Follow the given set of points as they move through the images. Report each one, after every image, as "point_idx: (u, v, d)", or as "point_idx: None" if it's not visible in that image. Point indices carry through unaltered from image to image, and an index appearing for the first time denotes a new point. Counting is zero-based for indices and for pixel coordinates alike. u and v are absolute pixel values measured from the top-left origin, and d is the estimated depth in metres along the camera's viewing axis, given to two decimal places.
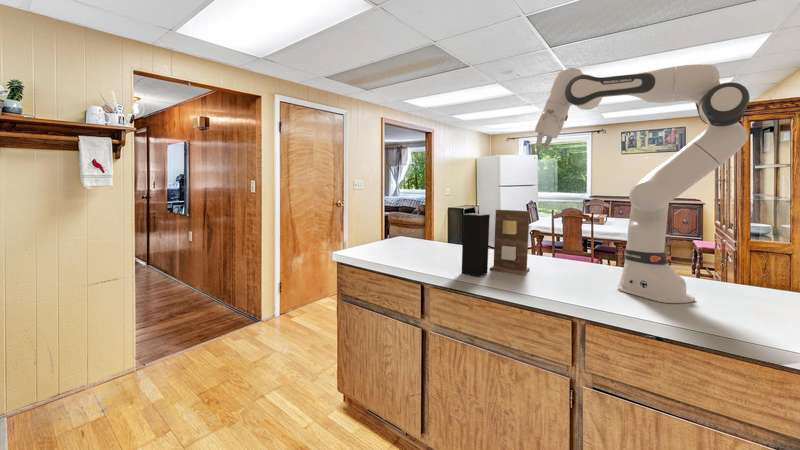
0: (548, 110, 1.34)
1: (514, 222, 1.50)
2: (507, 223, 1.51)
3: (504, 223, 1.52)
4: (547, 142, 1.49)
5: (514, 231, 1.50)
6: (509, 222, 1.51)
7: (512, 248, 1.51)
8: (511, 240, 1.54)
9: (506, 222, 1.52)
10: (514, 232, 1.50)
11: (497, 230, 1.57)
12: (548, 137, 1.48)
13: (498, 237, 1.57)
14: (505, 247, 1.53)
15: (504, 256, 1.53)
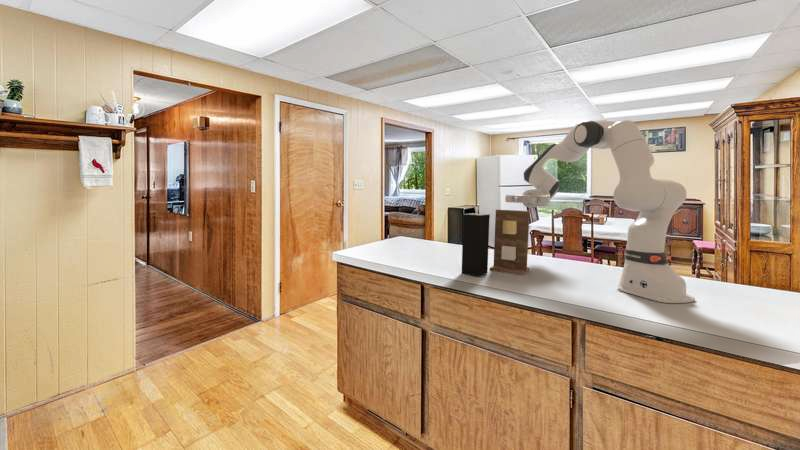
0: None
1: (514, 222, 1.50)
2: (507, 223, 1.51)
3: (504, 223, 1.52)
4: None
5: (514, 231, 1.50)
6: (509, 222, 1.51)
7: (512, 248, 1.51)
8: (511, 240, 1.54)
9: (506, 222, 1.52)
10: (514, 232, 1.50)
11: (497, 230, 1.57)
12: None
13: (498, 237, 1.57)
14: (505, 247, 1.53)
15: (504, 256, 1.53)
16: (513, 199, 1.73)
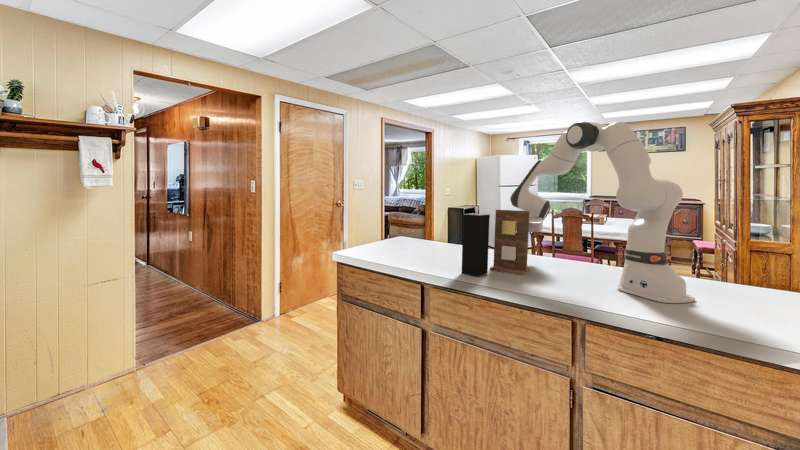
0: None
1: (513, 222, 1.49)
2: (506, 223, 1.51)
3: (503, 223, 1.51)
4: None
5: (513, 231, 1.49)
6: (508, 223, 1.50)
7: (512, 248, 1.51)
8: (511, 240, 1.54)
9: (505, 222, 1.51)
10: (513, 232, 1.49)
11: (497, 230, 1.57)
12: None
13: (498, 237, 1.57)
14: (505, 247, 1.53)
15: (504, 256, 1.53)
16: None
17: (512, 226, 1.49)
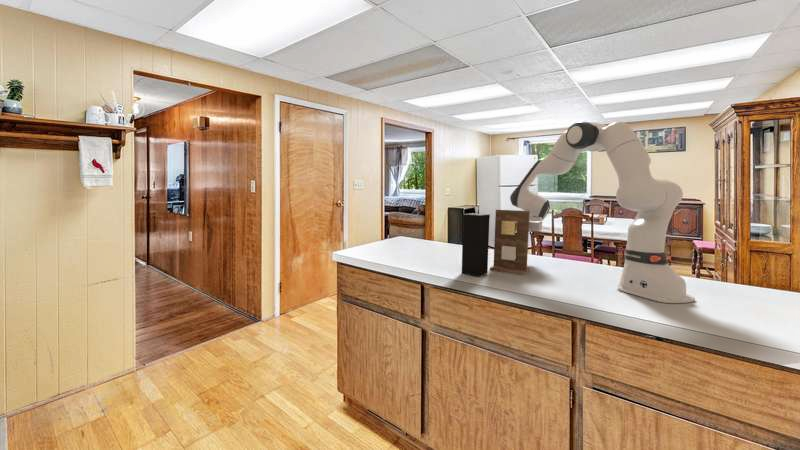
0: None
1: (513, 222, 1.48)
2: (506, 223, 1.50)
3: (503, 223, 1.51)
4: None
5: (513, 231, 1.49)
6: (507, 223, 1.50)
7: (512, 248, 1.51)
8: (511, 240, 1.54)
9: (505, 222, 1.50)
10: (513, 232, 1.49)
11: (497, 230, 1.57)
12: None
13: (498, 237, 1.57)
14: (505, 247, 1.53)
15: (504, 256, 1.53)
16: None
17: (511, 226, 1.49)
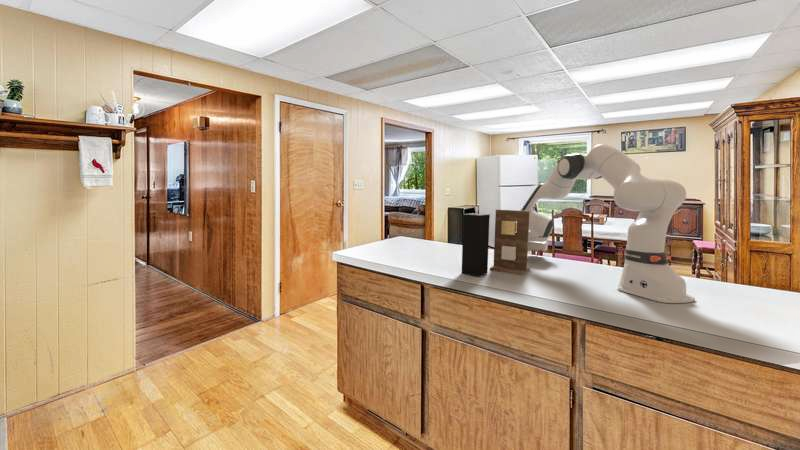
0: None
1: (513, 222, 1.48)
2: (506, 223, 1.50)
3: (503, 223, 1.51)
4: None
5: (513, 231, 1.49)
6: (507, 223, 1.50)
7: (512, 248, 1.51)
8: (511, 240, 1.54)
9: (505, 222, 1.50)
10: (513, 232, 1.49)
11: (497, 230, 1.57)
12: None
13: (498, 237, 1.57)
14: (505, 247, 1.53)
15: (504, 256, 1.53)
16: None
17: (511, 226, 1.49)
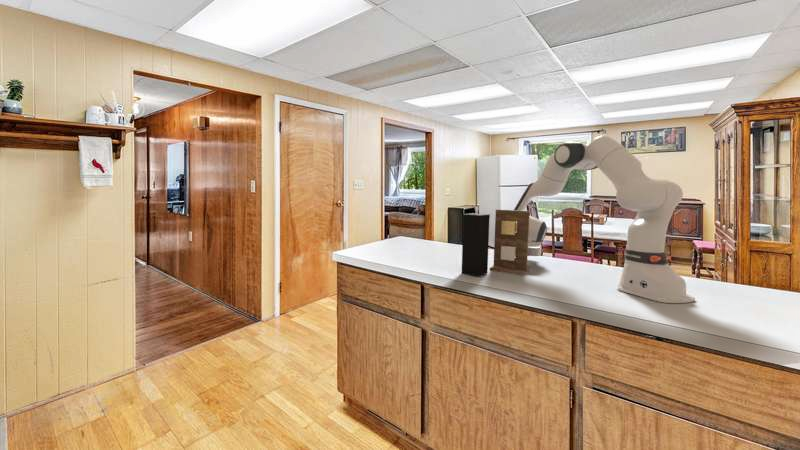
0: None
1: (513, 222, 1.48)
2: (506, 223, 1.50)
3: (503, 223, 1.51)
4: None
5: (513, 231, 1.49)
6: (507, 223, 1.50)
7: (511, 248, 1.50)
8: (511, 240, 1.54)
9: (505, 222, 1.50)
10: (513, 232, 1.49)
11: (497, 230, 1.57)
12: None
13: (498, 237, 1.57)
14: (504, 247, 1.52)
15: (503, 256, 1.53)
16: None
17: (511, 226, 1.49)
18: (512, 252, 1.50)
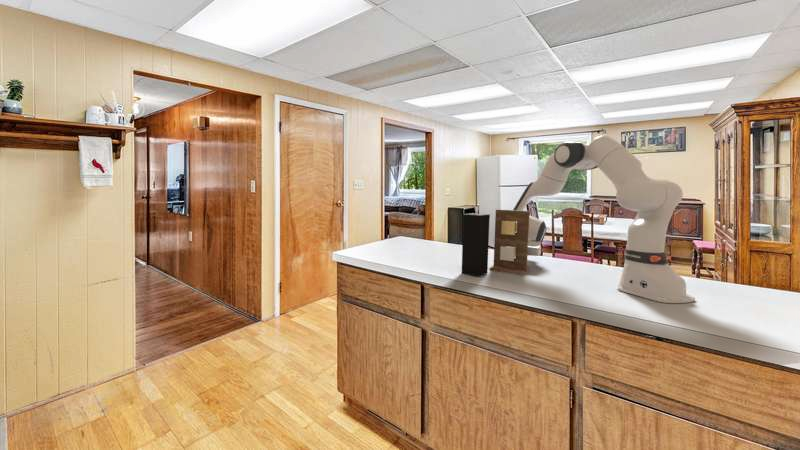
0: None
1: (513, 222, 1.48)
2: (506, 223, 1.50)
3: (503, 223, 1.51)
4: None
5: (513, 231, 1.49)
6: (507, 223, 1.50)
7: (511, 249, 1.50)
8: (511, 240, 1.54)
9: (505, 222, 1.50)
10: (513, 232, 1.49)
11: (497, 230, 1.57)
12: None
13: (498, 237, 1.57)
14: (504, 248, 1.51)
15: (503, 257, 1.52)
16: None
17: (511, 226, 1.49)
18: (511, 252, 1.50)
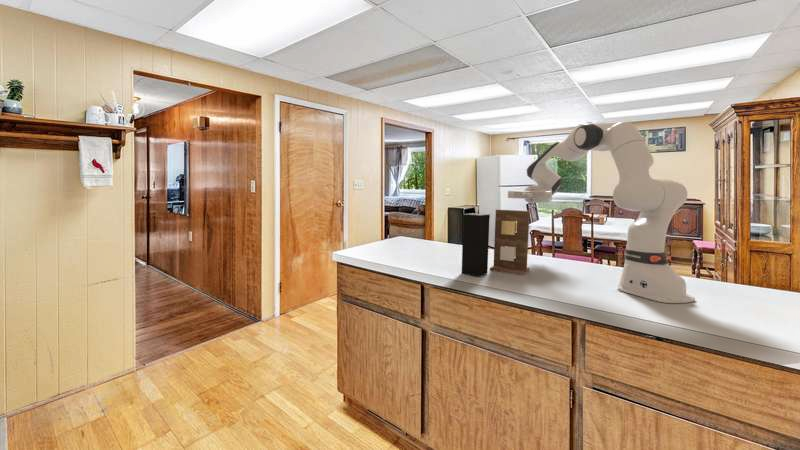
0: None
1: (513, 222, 1.48)
2: (506, 223, 1.50)
3: (503, 223, 1.51)
4: None
5: (513, 231, 1.49)
6: (507, 223, 1.50)
7: (511, 249, 1.50)
8: (511, 240, 1.54)
9: (505, 222, 1.50)
10: (513, 232, 1.49)
11: (497, 230, 1.57)
12: None
13: (498, 237, 1.57)
14: (504, 248, 1.51)
15: (503, 257, 1.52)
16: (515, 195, 1.76)
17: (511, 226, 1.49)
18: (511, 252, 1.50)
